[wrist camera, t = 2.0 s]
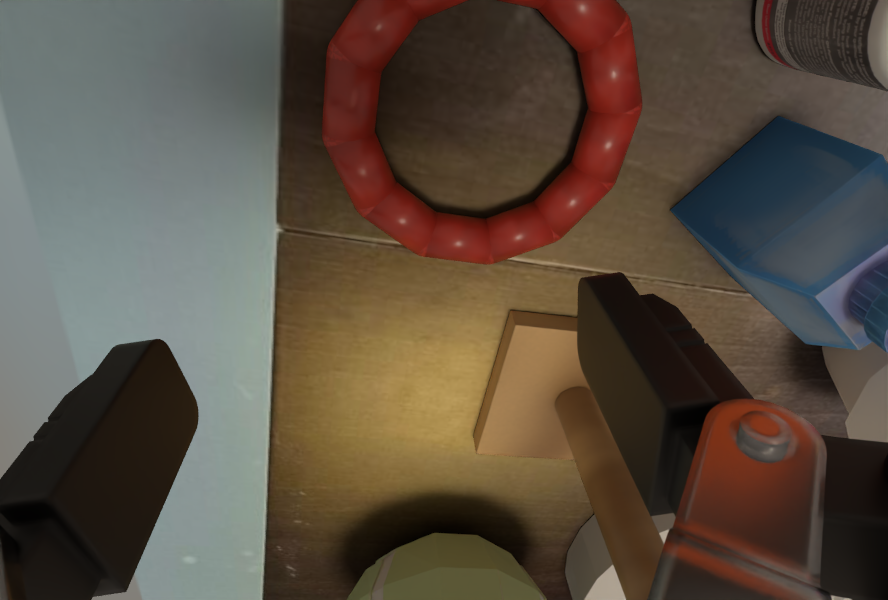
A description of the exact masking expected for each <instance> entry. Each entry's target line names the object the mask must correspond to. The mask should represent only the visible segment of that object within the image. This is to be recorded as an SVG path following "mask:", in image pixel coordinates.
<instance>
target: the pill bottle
mask: <svg viewBox="0 0 888 600" xmlns="http://www.w3.org/2000/svg"><path fill="white" fill-rule="evenodd" d="M755 31H756V35H757V39H758V42H759V44H760V46H761V48H762V49H763V51H764V53H765V54H766V55H767V56H768V57H769V58H770V59H772V60H773V61H775V62H776V63H778V64H781V65H783V66H786V67H790V68H794V69H796V70H801V71H805V72H809V73H814V74H817V75H821V76H825V77H830V78H835V79H839V80H844V81H847V82H853V83H857V84H861V85H865V86H869V87H873V88H878V89H881V90H884V91H888V0H757V4H756V13H755Z"/></svg>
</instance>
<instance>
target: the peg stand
mask: <svg viewBox="0 0 888 600" xmlns="http://www.w3.org/2000/svg"><path fill="white" fill-rule="evenodd" d="M577 320H578V318H574V317H565V316H557V315H548V314H539V313H530V312H521V311H512V310H511V311H510V313H509V317H508V320H507V324H506V327H505V330H504V334H503V337H502V341H501V344H500V347H499V351H498V354H497V358H496V361H495V364H494V368H493V371H492V375H491V378H490V381H489V385H488V388H487V392H486V395H485V398H484V402H483V405H482V409H481V412H480V415H479V419H478V422H477V426H476V429H475V432H474V436H473V438H474V443H475V449H476V454H488V455H504V456H519V457H535V458H550V459H566V460H575V463H576V465H577V468H578V471H579V473H580V476H581V479H582V482H583V484H584V487H585V490H586V492H587V495H588V498H589V500H590V503H591V506H592V509H593V511H594V514H595V517H596V519H597V522H598V525H599V527H600V530H601V533H602V536H603V538H604V541H605V544H606V546H607V549H608V552H609V555H610V557H611V560H612V563H613V565H614V568H615V571H616V573H617V576H618V579H619V582H620V584H621V587H622V590H623V592H624V595H625V598H626V600H647V599H648V595H649V592H650V589H651V585H652V582H653V579H654V576H655V572H656V569H657V566H658V562H659V559H660V556H661V553H662V549H663V546H664V543H663V540H662V538H661V536H660V534H659V532H658V530H657V528H656V526H655V523H654V521H653V519H652V517H651V516H650V514H649V512H648V510H647V508H646V506H645V504H644V501H643V499H642V497H641V495H640V493H639V491H638V489H637V487H636V484H635V482H634V480H633V478H632V476H631V474H630V472H629V470H628V468H627V465H626V463H625V461H624V459H623V457H622V455H621V453H620V451H619V448H618V446H617V444H616V442H615V440H614V438H613V436H612V434H611V431H610V429H609V427H608V425H607V423H606V421H605V419H604V417H603V414H602V412H601V410H600V408H599V406H598V404H597V402H596V400H595V398H594V395H593V393H592V391H591V389H590V387H589V385H588V383H587V381H586V378H585V376H584V374H583V372H582V369H581V365H580V361H579V356H578V349H577Z"/></svg>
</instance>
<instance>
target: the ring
mask: <svg viewBox="0 0 888 600" xmlns="http://www.w3.org/2000/svg"><path fill="white" fill-rule="evenodd" d="M465 1H468V0H357V2H356V3H355V5H354V6H353V8H352V9H351V11H350V12H349V14H348V15H347V17H346V18H345V20H344V21H343V23H342V24H341V26H340V27H339V29H338V30H337V32H336V33H335V35H334V36H333V38H332V39H331V41H330V43H329V45H328V48H327V54H326V71H325V87H324V104H323V121H322V139H323V142H324V145H325V147H326V149H327V151H328V153H329V155H330V157H331V159H332V161H333V163H334V166H335V168H336V170H337V172H338V174H339V176H340V178H341V180H342V182H343V184H344V186H345V188H346V190H347V192H348V194H349V197H350V199H351V201H352V203H353V205H354V207H355V209H356V210H357V212H358V213H359V214H360V215H361V216H363V217H364V218H365V219H367V220H368V221H370V222H371V223H372V224H374V225H375V226H377V227H378V228H379V229H381V230H382V231H384V232H385V233H387V234H388V235H389V236H391V237H392V238H394V239H395V240H397V241H398V242H399V243H401V244H402V245H404V246H405V247H406V248H408V249H409V250H411V251H412V252H414V253H415V254H417V255H419V256H423V257H430V258H438V259H446V260H454V261H462V262H470V263H478V264H494V263H497V262H500V261H503V260H505V259H508V258H511V257H514V256H517V255H520V254H523V253H525V252H528V251H531V250H534V249H537V248H540V247H543V246H545V245H548V244H551V243H554V242H556V241H558V240H559V239H561V238H562V237H563V236H564V235H565V234H566V233H567V232H568V231H569V230H570V229H571V228H572V227H573V226H574V225H575V224H576V223H577V222H578V221H579V220H580V219H581V218H582V217H583V216H584V215H585V214H586V213H587V212H588V211H589V210H591V209H592V208H593V207H594V206H595V205H596V204H597V203H598V202H599V201H600V200H601V199H602V198H603V197H604V196H605V195H606V194H607V193H608V192H609V191H610V190H611V189H612V187H613V186H614V184H615V182H616V180H617V177H618V174H619V171H620V169H621V166H622V163H623V160H624V158H625V155H626V152H627V149H628V147H629V144H630V141H631V138H632V136H633V133H634V130H635V127H636V125H637V122H638V119H639V116H640V114H641V110H642V97H641V89H640V82H639V75H638V68H637V60H636V53H635V46H634V39H633V31H632V25H631V21H630V18H629V16H628V14H627V13H626V11H625V10H624V9H623V8H622V7H621V6H620V4H619V3H618V2H617V1H616V0H497V1H502V2H507V3H512V4H516V5H521V6H526V7H531V8H535V9H538V10H539V11H540V12H541V14H542V15H543V16H544V17H545V18H546V19H547V20H548V21H549V22H550V23H551V24H552V25H553V26H554V27H555V29H556V30H557V31H558V32H559V33H560V34H561V35H562V36H563V37H564V38H565V39H566V40H567V41H568V42H569V44H570V45H571V46H572V47H573V48H574V49H575V50H576V51H577V54H578V59H579V64H580V70H581V75H582V80H583V85H584V90H585V95H586V100H587V105H588V110H587V113H586V116H585V119H584V123H583V126H582V129H581V132H580V135H579V139H578V142H577V145H576V148H575V151H574V155H573V158H572V161H571V163H570V164H569V165H568V166H567V167H566V168H565V169H564V170H563V171H562V172H561V173H560V174H559V175H558V176H557V177H556V178H555V180H554V181H553V182H552V183H551V184H550V185H549V186H548V187H547V188H546V189H545V190H544V191H543V192H542V193H541V194H540V195H539V196H538V197H537V198H536V199H535V200H534V201H533V202H530V203H528V204H525V205H522V206H519V207H517V208H514V209H511V210H508V211H505V212H503V213H500V214H497V215H494V216H492V217H489V218H486V219H483V218H476V217H469V216H462V215H455V214H448V213H440V212H435V211H434V210H433V209H432V208H430V207H429V206H428V205H426V204H425V203H424V202H422V201H421V200H420V199H418V198H417V197H416V196H414V195H413V194H412V193H411V192H409V191H408V190H407V189H405V188H404V187H403V186H401V185H400V184H399V183H397V182H396V180H395V178H394V176H393V173H392V171H391V169H390V166H389V164H388V162H387V159H386V157H385V154H384V152H383V150H382V147H381V145H380V143H379V140H378V138H377V136H376V133H375V125H376V116H377V107H378V98H379V89H380V80H381V72H382V71H383V69H384V68H385V67H386V65H387V64H388V62H389V61H390V60H391V58H392V57H393V56H394V54H395V53H396V51H397V50H398V49H399V47H400V46H401V45H402V43H403V42H404V40H405V39H406V38H407V36H408V35H409V33H410V32H411V31H412V29H413V28H414V27H415V25H416V24H417V22H418V21H419V20H422V19H424V18H426V17H429V16H431V15H434V14H436V13H439V12H441V11H443V10H446V9H448V8H451V7H453V6H455V5H458V4H460V3H463V2H465Z"/></svg>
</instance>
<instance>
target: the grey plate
mask: <svg viewBox="0 0 888 600" xmlns="http://www.w3.org/2000/svg"><path fill="white" fill-rule="evenodd" d="M651 517H652V519H653V521H654V523H655V526H656V528H657V530H658V532H659V534H660V536H661V538H662V540H663V543H665V540H666V537H667V534H668V532H669V529H670V528H672V527H673V525H674V521H675V518H676V517H675V515H674V513H669V514H663V515H656V516H651ZM565 575H566V579H567V582H568V586H569V589H570V593H571V596H572V600H626V598H625V595H624V592H623V590H622V587H621V584H620V582H619V579H618V576H617V573H616V571H615V568H614V565H613V563H612V560H611V557H610V555H609V552H608V549H607V546H606V544H605V541H604V538H603V536H602V533H601V530H600V527H599V525H598V522H597V519H596V517H595V514H594V515H593V516H592V517H591V518H590V519H589V520H588V521H587V522H586V523H585V524H584V525H583V526H582V527H581V528H580V530H579V532H578V534H577V536H576V537H575V539H574V541H573V543H572V545H571V546H570V548H569V550H568V552H567V560H566V568H565ZM831 598H832V600H852V599H849V598H843V597H838V596H832V595H831Z"/></svg>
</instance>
